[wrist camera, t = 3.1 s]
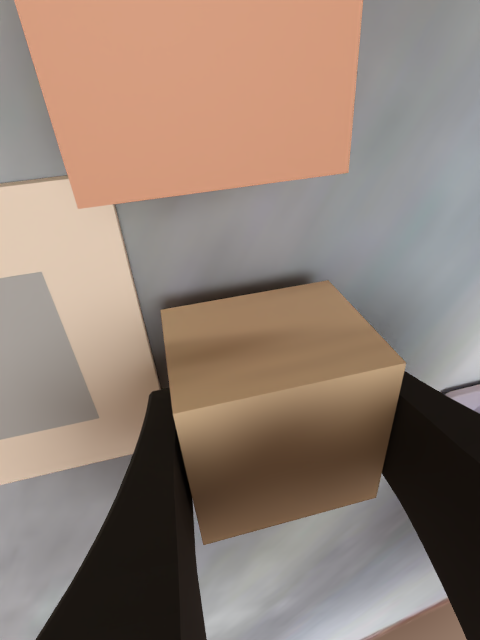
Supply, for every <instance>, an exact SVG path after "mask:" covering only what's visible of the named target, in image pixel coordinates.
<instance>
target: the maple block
mask: <svg viewBox="0 0 480 640" xmlns="http://www.w3.org/2000/svg"><path fill="white" fill-rule="evenodd" d="M161 318H162V327H163V335H164V344H165V352H166V361H167V369H168V378H169V386H170V395H171V403H172V411H173V417H174V421H175V426H176V430H177V434H178V438H179V443H180V447H181V451H182V455H183V460H184V464H185V468H186V473H187V477H188V481H189V485H190V490H191V494H192V498H193V502H194V507H195V511H196V515H197V519H198V524H199V528H200V532H201V537H202V541H203V545H206V544H209V543H213V542H217V541H220V540H224V539H227V538H231V537H235V536H238V535H242V534H246V533H249V532H253V531H257V530H260V529H264V528H267V527H271V526H275V525H278V524H282V523H286V522H289V521H293V520H296V519H300V518H304V517H307V516H311V515H315V514H318V513H322V512H325V511H329V510H333V509H336V508H340V507H344V506H347V505H351V504H354V503H358V502H362V501H365V500H369V499H373V498H376V496H377V491H378V487H379V482H380V478H381V473H382V469H383V464H384V460H385V455H386V451H387V446H388V442H389V438H390V433H391V429H392V424H393V420H394V415H395V411H396V406H397V402H398V397H399V393H400V388H401V384H402V379H403V375H404V371H405V366H406V362H405V361H404V360H403V359H402V358H401V357H400V356H399V355H398V354H397V353H396V352H395V351H394V350H393V348H392V347H391V346H390V345H389V344H388V343H387V342H386V341H385V340H384V339H383V338H382V337H381V336H380V335H379V334H378V333H377V331H376V330H375V329H374V328H373V327H372V326H371V325H370V324H369V323H368V322H367V321H366V320H365V319H364V318H363V317H362V316H361V315H360V313H359V312H358V311H357V310H356V309H355V308H354V307H353V306H352V305H351V304H350V303H349V302H348V301H347V300H346V299H345V298H344V296H343V295H342V294H341V293H340V292H339V291H338V290H337V289H336V288H335V287H334V286H333V285H332V284H331V283H330V282H329V281H328V280H327V281H322V282H316V283H310V284H304V285H299V286H293V287H287V288H282V289H276V290H270V291H265V292H259V293H253V294H248V295H242V296H236V297H231V298H225V299H219V300H214V301H208V302H202V303H197V304H191V305H185V306H180V307H174V308H168V309H163V310H161Z"/></svg>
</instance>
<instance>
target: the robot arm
mask: <svg viewBox="0 0 480 640" xmlns="http://www.w3.org/2000/svg"><path fill="white" fill-rule="evenodd" d="M382 474H383V476H384V477H385V479H386V480H387V482H388V483H389V485H390V487H391V488H392V490H393V491H394V493H395V494H396V496H397V498H398V499H399V501H400V503H401V504H402V506H403V508H404V510H405V511H406V513H407V515H408V517H409V519H410V521H411V523H412V525H413V527H414V529H415V531H416V532H417V534H418V536H419V538H420V540H421V542H422V544H423V546H424V548H425V550H426V552H427V554H428V556H429V558H430V560H431V563H432V565H433V567H434V569H435V571H436V573H437V575H438V577H439V579H440V581H441V583H442V585H443V587H444V590H445V592H446V594H447V596H448V598H449V601H450V603H451V605H452V607H453V609H454V612H455V614H456V616H457V618H458V620H459V622H460V625H461V627H462V629H463V632H464V634H465V636H466V639H467V640H480V384H479V385H475V386H471V387H467V388H462V389H458V390H454V391H450V392H448V393H446V394H445V395H444V394H442V393H441V392H439V391H437V390H435V389H434V388H432V387H430V386H428V385H427V384H425V383H423V382H422V381H420V380H418V379H417V378H415V377H413V376H412V375H410V374H408V373H407V372H405V371H404V375H403V379H402V384H401V388H400V393H399V397H398V402H397V406H396V411H395V415H394V420H393V424H392V429H391V433H390V438H389V442H388V446H387V451H386V455H385V460H384V464H383V469H382ZM36 640H207V639H206V632H205V625H204V618H203V611H202V604H201V596H200V589H199V582H198V575H197V566H196V555H195V538H194V520H193V501H192V494H191V490H190V485H189V481H188V477H187V473H186V468H185V464H184V460H183V455H182V451H181V447H180V443H179V438H178V434H177V430H176V426H175V421H174V417H173V411H172V403H171V395H170V388H166V389H161V390H156V391H152V392H151V394H150V395H149V399H148V405H147V409H146V414H145V418H144V421H143V425H142V428H141V432H140V435H139V438H138V441H137V444H136V447H135V450H134V453H133V456H132V459H131V461H130V464H129V466H128V469H127V471H126V474H125V476H124V479H123V481H122V484H121V486H120V489H119V491H118V493H117V496H116V498H115V500H114V502H113V505H112V507H111V509H110V511H109V513H108V515H107V517H106V519H105V521H104V523H103V525H102V527H101V529H100V531H99V533H98V535H97V537H96V539H95V541H94V543H93V545H92V547H91V548H90V550H89V552H88V554H87V556H86V558H85V559H84V561H83V563H82V565H81V567H80V568H79V570H78V572H77V574H76V575H75V577H74V579H73V581H72V582H71V584H70V586H69V587H68V589H67V591H66V592H65V594H64V595H63V597H62V599H61V600H60V602H59V603H58V605H57V607H56V608H55V610H54V611H53V613H52V614H51V616H50V618H49V619H48V621H47V622H46V624H45V626H44V627H43V629H42V630H41V632H40V634H39V635H38V637H37V638H36Z"/></svg>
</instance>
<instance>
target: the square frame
mask: <svg viewBox="0 0 480 640" xmlns="http://www.w3.org/2000/svg"><path fill="white" fill-rule="evenodd" d="M156 390H161V387H160V383H159V379H158V375H157V371H156V367H155V363H154V359H153V355H152V351H151V347H150V343H149V339H148V335H147V331H146V328H145V324H144V320H143V316H142V312H141V308H140V304H139V300H138V296H137V292H136V288H135V284H134V280H133V276H132V272H131V268H130V264H129V260H128V256H127V252H126V248H125V244H124V240H123V236H122V232H121V228H120V224H119V220H118V216H117V212H116V208H115V204H112V205H104V206H97V207H89V208H82V209H78V207H77V204H76V201H75V198H74V194H73V191H72V188H71V184H70V181H69V178H68V175H67V176H59V177H50V178H42V179H34V180H25V181H17V182H9V183H1V184H0V485H2V484H6V483H11V482H15V481H19V480H23V479H28V478H32V477H36V476H41V475H45V474H49V473H53V472H58V471H62V470H66V469H70V468H75V467H79V466H83V465H87V464H92V463H96V462H100V461H104V460H109V459H113V458H117V457H121V456H126V455H130V454H133V453H134V450H135V447H136V444H137V441H138V438H139V435H140V432H141V428H142V425H143V421H144V418H145V414H146V409H147V405H148V399H149V395H150V394H151V392H152V391H156Z"/></svg>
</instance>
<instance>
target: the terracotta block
mask: <svg viewBox="0 0 480 640" xmlns="http://www.w3.org/2000/svg"><path fill="white" fill-rule="evenodd" d="M14 1H15V5H16V8H17V11H18V14H19V18H20V21H21V24H22V27H23V31H24V34H25V37H26V41H27V44H28V47H29V50H30V54H31V57H32V60H33V63H34V67H35V70H36V73H37V77H38V80H39V83H40V86H41V90H42V93H43V96H44V99H45V103H46V106H47V109H48V113H49V116H50V119H51V122H52V126H53V129H54V132H55V135H56V139H57V142H58V145H59V149H60V152H61V155H62V158H63V162H64V165H65V168H66V171H67V175H68V178H69V181H70V184H71V188H72V191H73V194H74V198H75V201H76V204H77V207H78V209H82V208H89V207H97V206H104V205H112V204H119V203H127V202H134V201H141V200H149V199H156V198H164V197H171V196H179V195H186V194H193V193H201V192H208V191H216V190H223V189H231V188H238V187H246V186H253V185H260V184H268V183H275V182H283V181H290V180H298V179H305V178H313V177H320V176H327V175H335V174H342V173H348V171H349V159H350V147H351V136H352V124H353V112H354V101H355V89H356V77H357V65H358V54H359V42H360V30H361V19H362V7H363V0H14Z"/></svg>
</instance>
